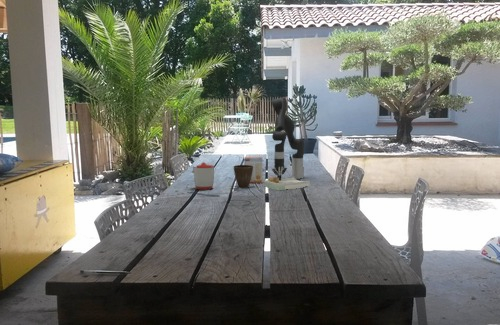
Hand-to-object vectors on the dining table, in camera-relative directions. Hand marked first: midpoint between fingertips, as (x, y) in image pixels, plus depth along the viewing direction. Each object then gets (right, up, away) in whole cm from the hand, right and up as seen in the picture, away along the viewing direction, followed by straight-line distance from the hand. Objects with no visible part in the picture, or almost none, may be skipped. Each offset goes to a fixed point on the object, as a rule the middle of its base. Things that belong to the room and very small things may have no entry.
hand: (279, 180), depth 370 cm
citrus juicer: (-58, -6, -8) cm, 58 cm away
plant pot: (-27, -5, -2) cm, 28 cm away
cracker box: (-20, -3, +18) cm, 27 cm away
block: (-4, -2, -2) cm, 5 cm away
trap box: (+6, -5, -2) cm, 8 cm away
